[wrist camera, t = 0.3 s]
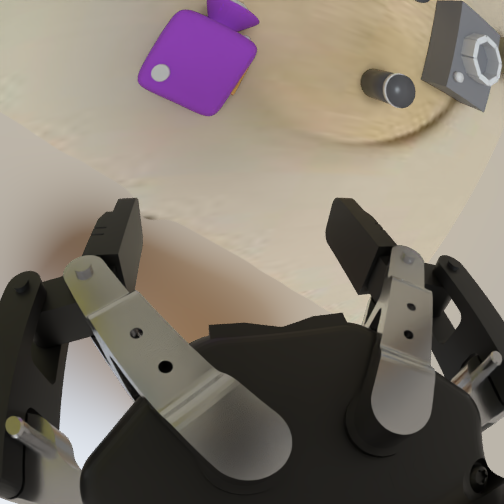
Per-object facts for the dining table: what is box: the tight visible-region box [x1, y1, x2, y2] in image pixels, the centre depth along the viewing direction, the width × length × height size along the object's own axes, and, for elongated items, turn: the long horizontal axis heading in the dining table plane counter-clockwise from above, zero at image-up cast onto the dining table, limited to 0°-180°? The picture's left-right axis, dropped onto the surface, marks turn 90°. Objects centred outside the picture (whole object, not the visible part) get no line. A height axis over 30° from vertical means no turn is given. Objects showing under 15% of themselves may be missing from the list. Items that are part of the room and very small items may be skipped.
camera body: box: [421, 1, 502, 112], centre depth 28 cm, size 16×11×8 cm
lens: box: [361, 69, 415, 108], centre depth 32 cm, size 5×5×7 cm
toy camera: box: [138, 0, 259, 116], centre depth 25 cm, size 11×14×10 cm
